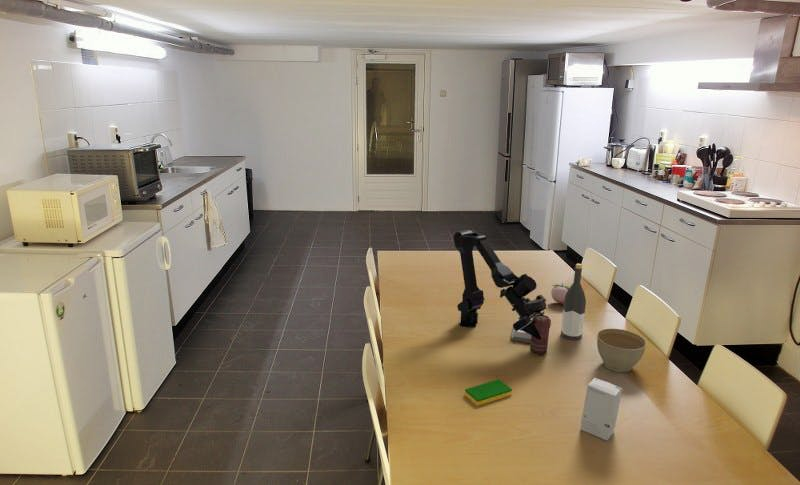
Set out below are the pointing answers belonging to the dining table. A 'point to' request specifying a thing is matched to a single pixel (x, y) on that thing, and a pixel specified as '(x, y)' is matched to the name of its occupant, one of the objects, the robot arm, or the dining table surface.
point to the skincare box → (601, 408)
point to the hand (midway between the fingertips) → (543, 336)
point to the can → (543, 327)
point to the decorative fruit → (559, 292)
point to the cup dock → (520, 336)
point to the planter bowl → (620, 349)
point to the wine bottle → (574, 308)
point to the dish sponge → (488, 392)
